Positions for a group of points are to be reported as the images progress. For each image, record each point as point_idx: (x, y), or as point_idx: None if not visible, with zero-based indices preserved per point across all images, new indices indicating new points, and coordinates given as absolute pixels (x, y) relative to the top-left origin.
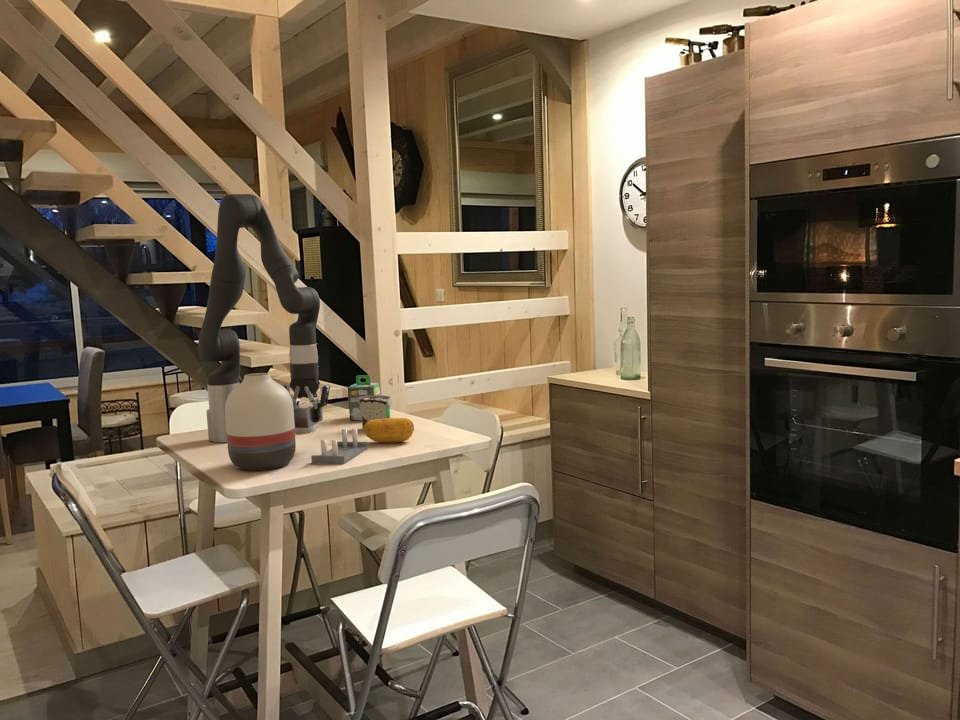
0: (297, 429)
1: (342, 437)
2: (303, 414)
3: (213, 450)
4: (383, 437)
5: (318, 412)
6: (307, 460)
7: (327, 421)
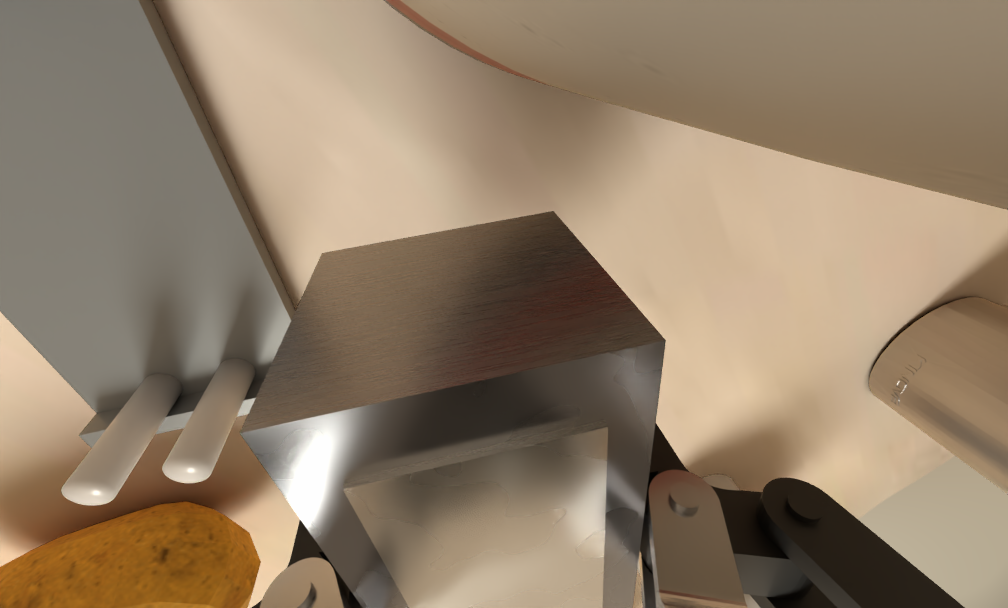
0: None
1: (219, 407)
2: (355, 344)
3: None
4: (93, 533)
5: (300, 527)
6: (254, 10)
7: (639, 599)
